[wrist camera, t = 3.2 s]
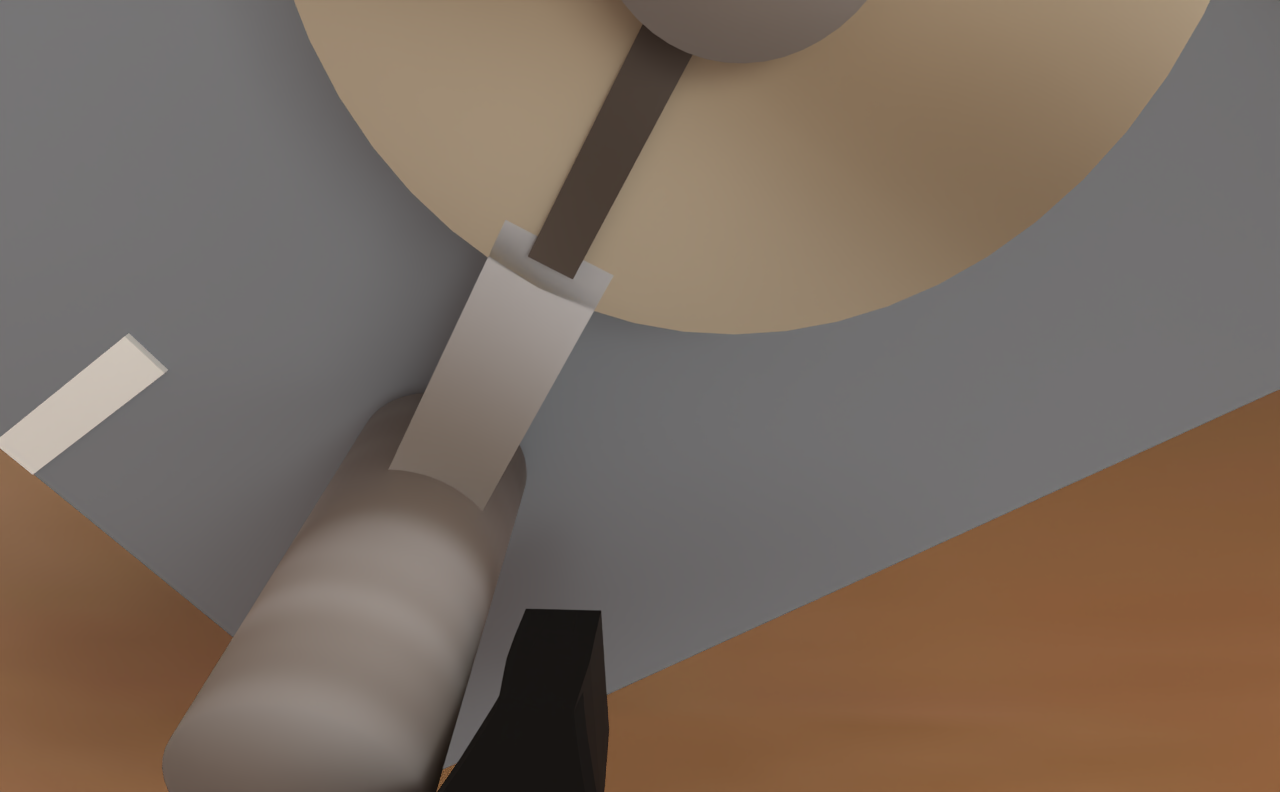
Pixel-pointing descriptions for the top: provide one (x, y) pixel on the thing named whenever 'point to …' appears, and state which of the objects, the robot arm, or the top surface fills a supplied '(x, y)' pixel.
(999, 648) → the top surface
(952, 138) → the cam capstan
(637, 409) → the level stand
